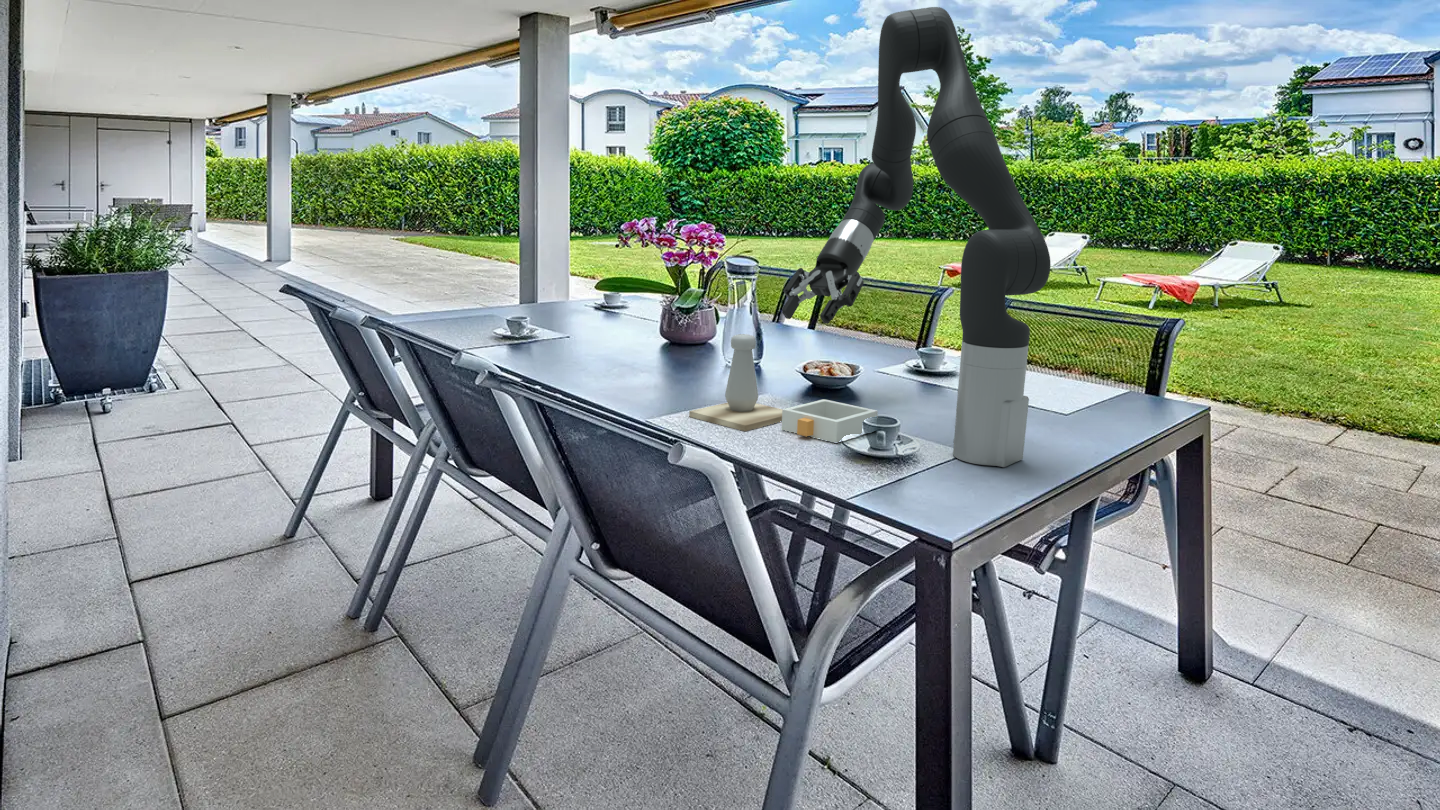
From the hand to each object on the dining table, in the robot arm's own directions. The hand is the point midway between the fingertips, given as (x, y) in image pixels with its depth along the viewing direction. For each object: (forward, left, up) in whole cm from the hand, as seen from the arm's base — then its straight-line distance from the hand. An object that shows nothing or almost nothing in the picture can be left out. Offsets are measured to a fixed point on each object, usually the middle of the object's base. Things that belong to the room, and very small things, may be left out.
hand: (804, 318), depth 157 cm
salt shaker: (+4, +12, -15) cm, 20 cm away
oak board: (+2, +13, -16) cm, 21 cm away
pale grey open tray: (-13, +9, -16) cm, 23 cm away
